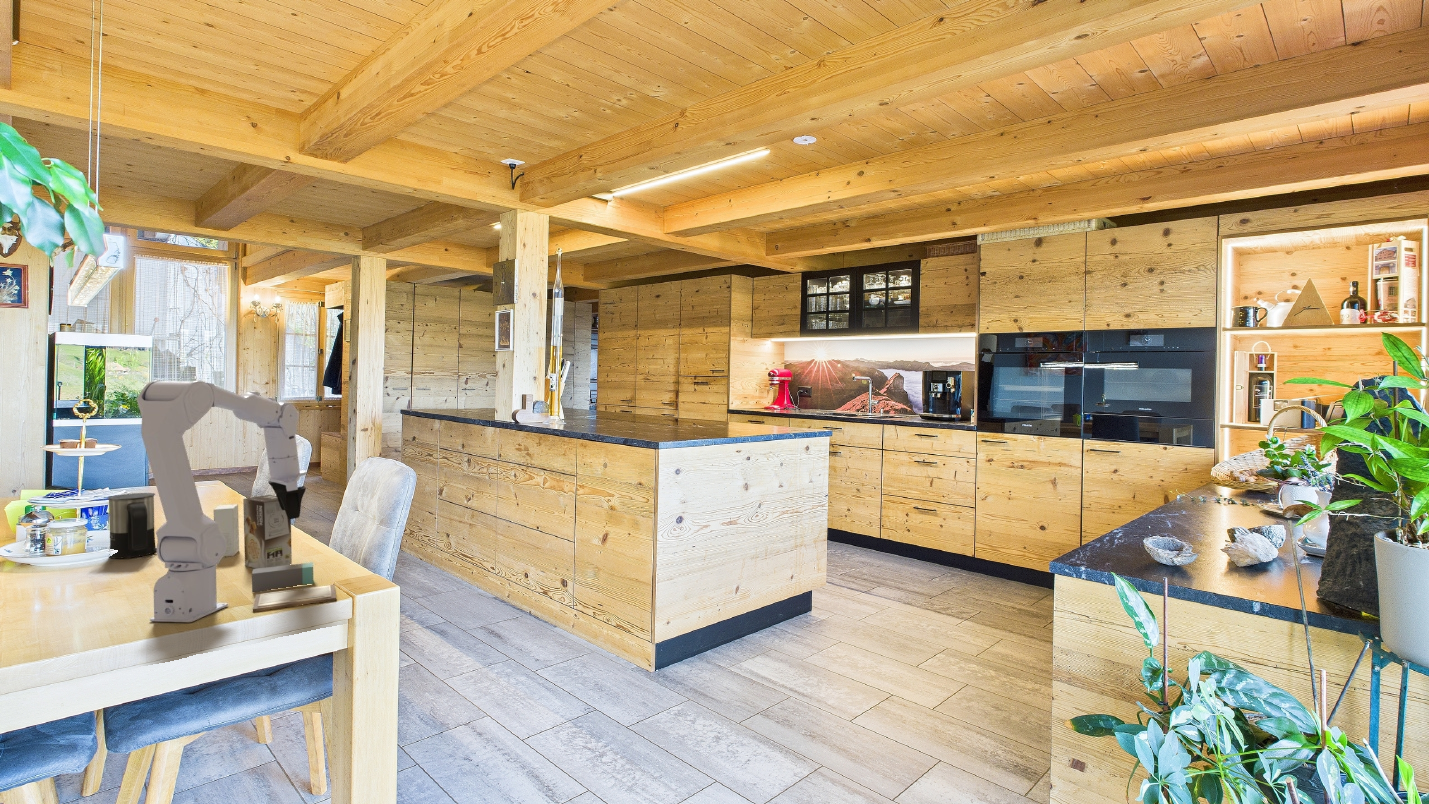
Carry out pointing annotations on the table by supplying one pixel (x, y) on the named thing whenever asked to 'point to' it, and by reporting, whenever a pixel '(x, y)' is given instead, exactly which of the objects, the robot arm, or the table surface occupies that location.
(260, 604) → the wooden tray
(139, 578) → the table surface
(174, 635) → the table surface
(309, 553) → the table surface
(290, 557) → the coffee box
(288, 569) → the gray teal block
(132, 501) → the milk frother
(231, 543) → the skincare box
